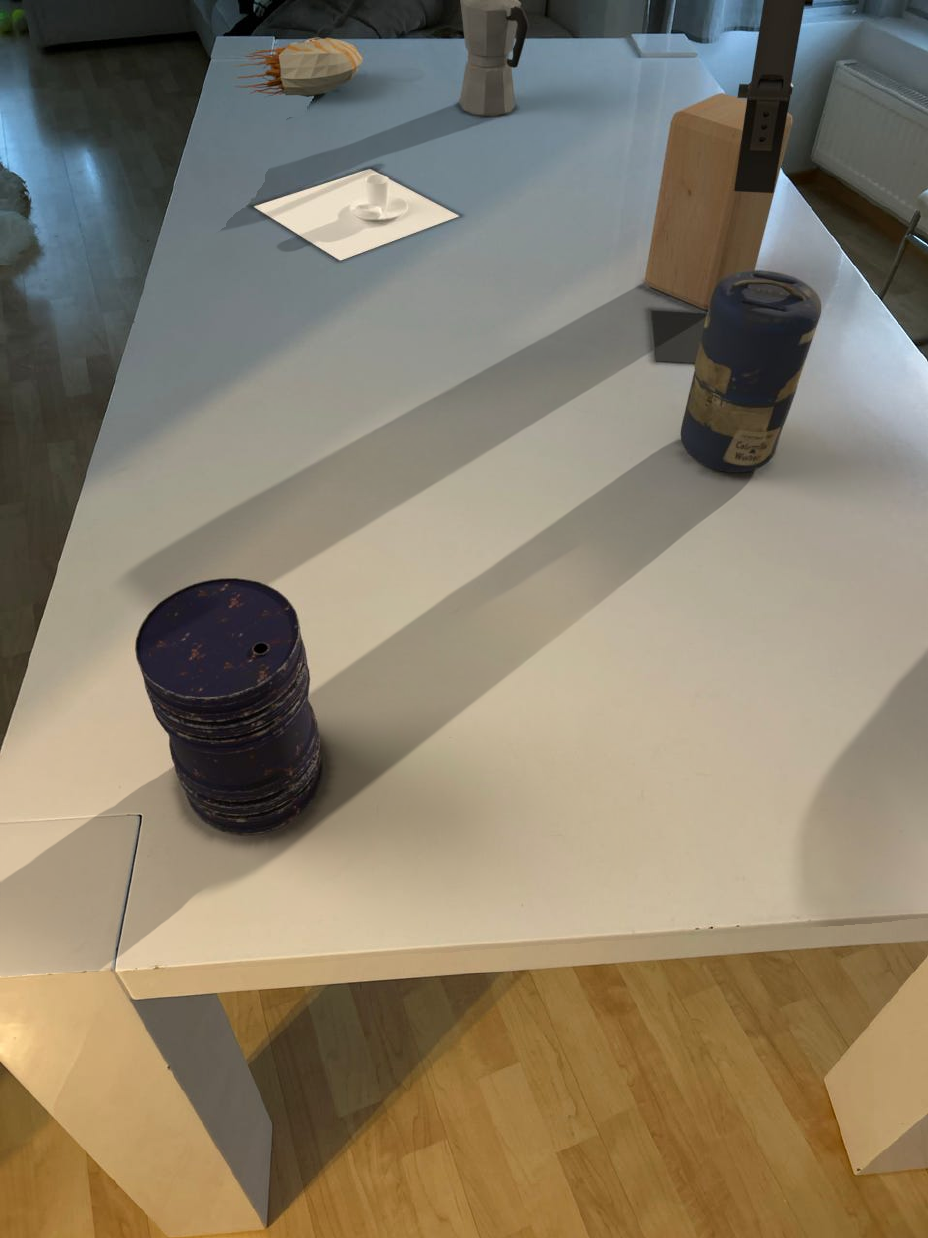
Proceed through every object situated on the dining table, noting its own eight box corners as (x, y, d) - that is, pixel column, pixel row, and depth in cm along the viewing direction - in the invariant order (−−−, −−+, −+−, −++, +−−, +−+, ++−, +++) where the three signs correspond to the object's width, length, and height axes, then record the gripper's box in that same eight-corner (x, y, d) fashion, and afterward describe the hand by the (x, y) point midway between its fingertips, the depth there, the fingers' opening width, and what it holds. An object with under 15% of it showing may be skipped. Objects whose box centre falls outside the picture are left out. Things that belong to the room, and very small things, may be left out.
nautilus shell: (234, 111, 154) (242, 84, 165) (366, 101, 155) (365, 74, 165) (223, 56, 149) (232, 32, 159) (359, 45, 149) (359, 22, 160)
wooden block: (640, 286, 116) (668, 111, 102) (686, 258, 121) (719, 88, 107) (709, 315, 112) (749, 136, 97) (754, 285, 117) (798, 111, 102)
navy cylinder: (155, 808, 65) (97, 670, 54) (229, 703, 72) (190, 560, 61) (283, 856, 63) (250, 721, 52) (348, 743, 69) (330, 601, 58)
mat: (765, 369, 104) (765, 367, 104) (655, 363, 105) (656, 360, 105) (752, 318, 112) (753, 315, 112) (650, 312, 112) (651, 310, 112)
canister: (703, 410, 99) (743, 242, 85) (789, 444, 95) (845, 274, 82) (660, 455, 93) (696, 284, 80) (749, 493, 90) (802, 319, 76)
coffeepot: (440, 100, 158) (440, -28, 145) (485, 88, 162) (489, -37, 149) (498, 129, 150) (503, -3, 136) (543, 116, 154) (553, -13, 140)
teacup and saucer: (368, 230, 125) (366, 199, 122) (333, 209, 129) (330, 179, 126) (419, 211, 129) (419, 181, 126) (383, 192, 133) (382, 162, 130)
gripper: (771, -272, 63) (728, 71, 79) (733, -166, 48) (690, 227, 65) (891, -279, 61) (821, 73, 78) (889, -171, 46) (804, 235, 63)
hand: (761, 144), depth 71 cm, fingers open, 13 cm apart
